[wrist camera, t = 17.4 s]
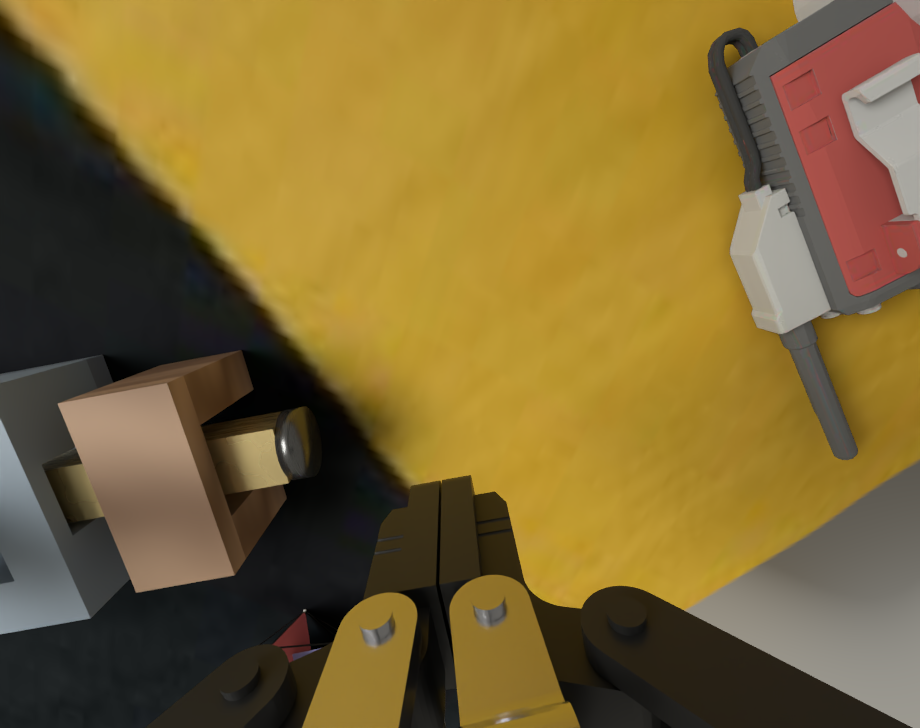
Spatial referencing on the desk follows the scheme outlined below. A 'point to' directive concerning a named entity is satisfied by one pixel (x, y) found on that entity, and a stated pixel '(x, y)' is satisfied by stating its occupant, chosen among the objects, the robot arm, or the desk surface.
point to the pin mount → (169, 471)
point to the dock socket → (48, 506)
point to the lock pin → (216, 459)
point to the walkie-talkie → (825, 176)
